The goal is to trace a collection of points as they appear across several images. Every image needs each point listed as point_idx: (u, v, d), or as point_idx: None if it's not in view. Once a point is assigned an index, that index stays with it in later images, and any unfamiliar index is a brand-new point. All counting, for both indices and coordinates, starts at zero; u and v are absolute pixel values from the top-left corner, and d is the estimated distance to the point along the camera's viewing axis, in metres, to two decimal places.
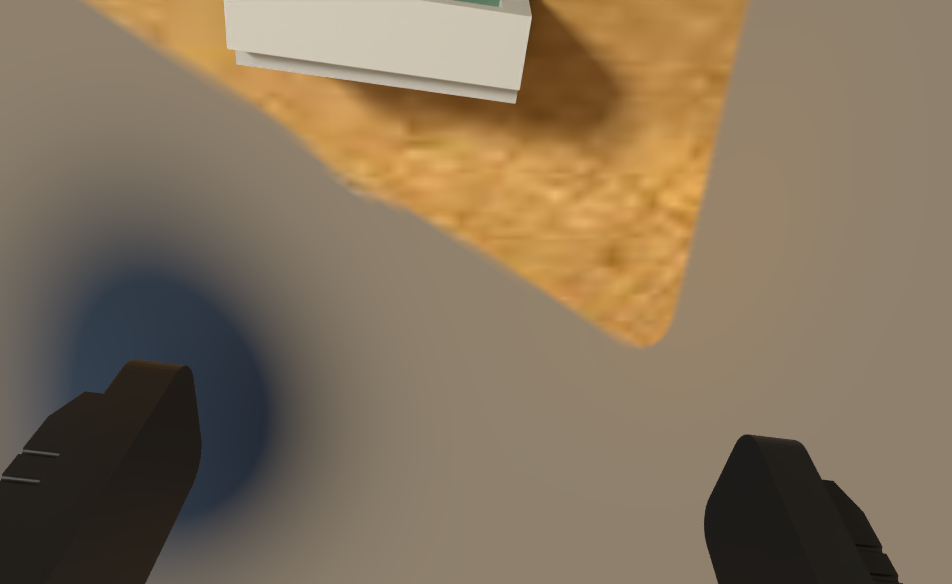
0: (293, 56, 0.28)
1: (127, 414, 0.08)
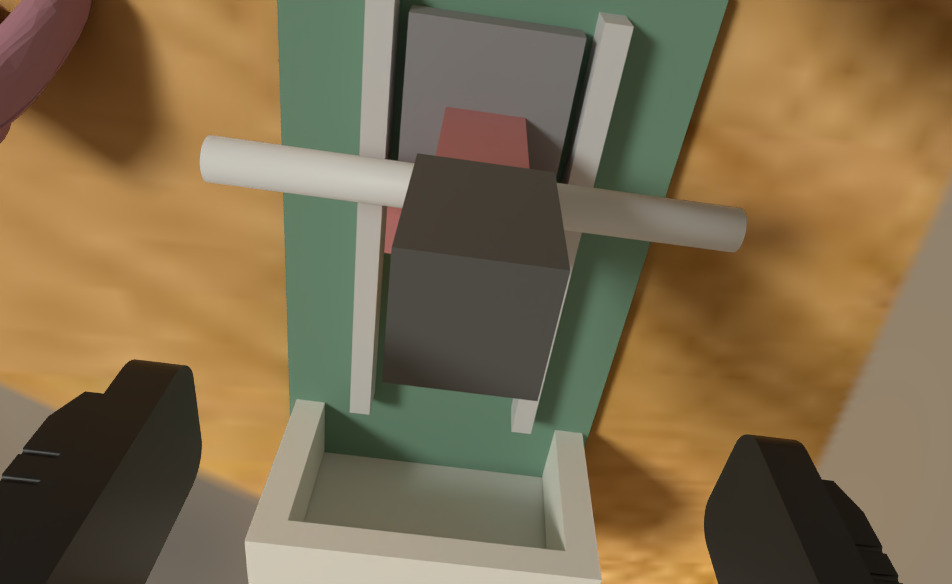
0: None
1: (127, 414, 0.08)
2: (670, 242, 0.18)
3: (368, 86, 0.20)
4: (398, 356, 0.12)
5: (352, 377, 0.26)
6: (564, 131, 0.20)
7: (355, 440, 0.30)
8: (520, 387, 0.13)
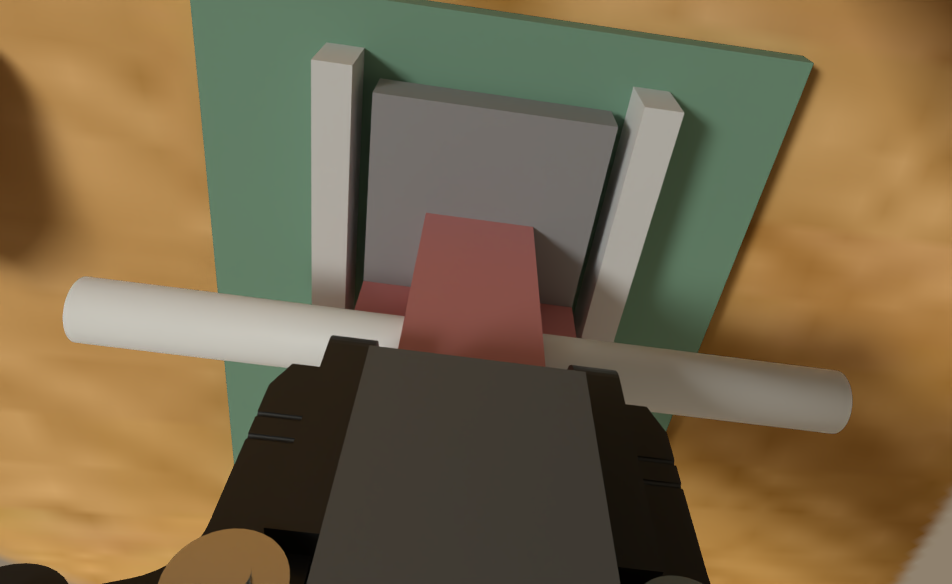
0: None
1: (347, 381, 0.09)
2: (741, 422, 0.12)
3: (320, 187, 0.14)
4: None
5: None
6: (585, 243, 0.15)
7: None
8: None
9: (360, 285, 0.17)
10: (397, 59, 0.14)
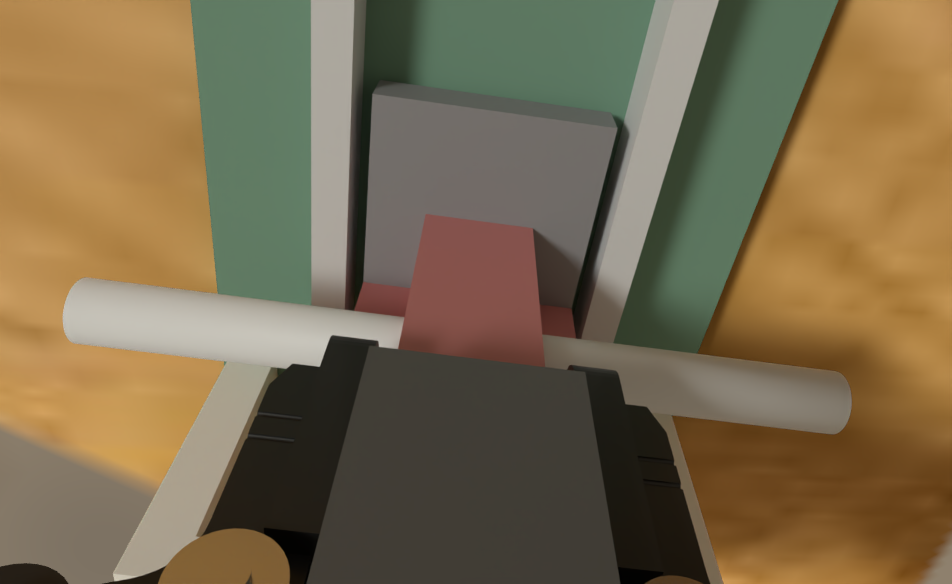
0: None
1: (347, 381, 0.09)
2: (741, 423, 0.13)
3: None
4: None
5: (313, 303, 0.16)
6: (585, 245, 0.15)
7: None
8: None
9: None
10: None
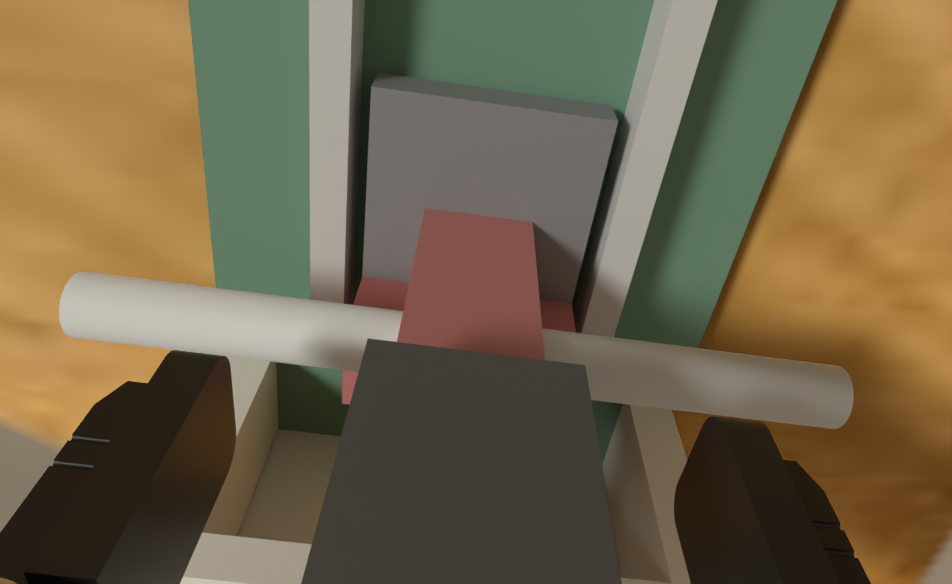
0: None
1: (172, 402, 0.08)
2: (742, 417, 0.12)
3: None
4: None
5: (312, 298, 0.16)
6: (585, 239, 0.15)
7: (324, 410, 0.20)
8: None
9: None
10: None
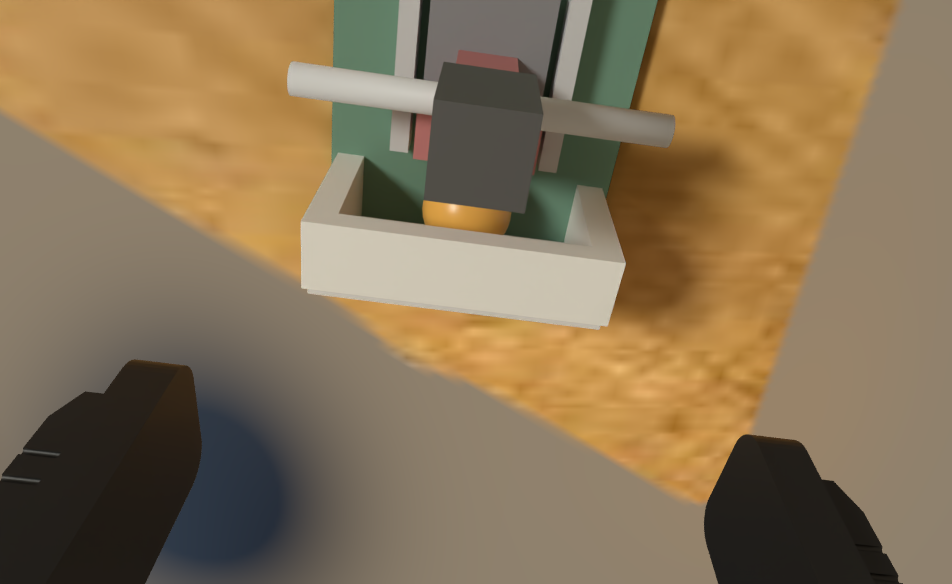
0: (371, 295, 0.27)
1: (127, 414, 0.08)
2: (621, 139, 0.25)
3: None
4: (435, 180, 0.19)
5: None
6: (546, 68, 0.27)
7: (391, 201, 0.32)
8: (513, 203, 0.20)
9: None
10: None
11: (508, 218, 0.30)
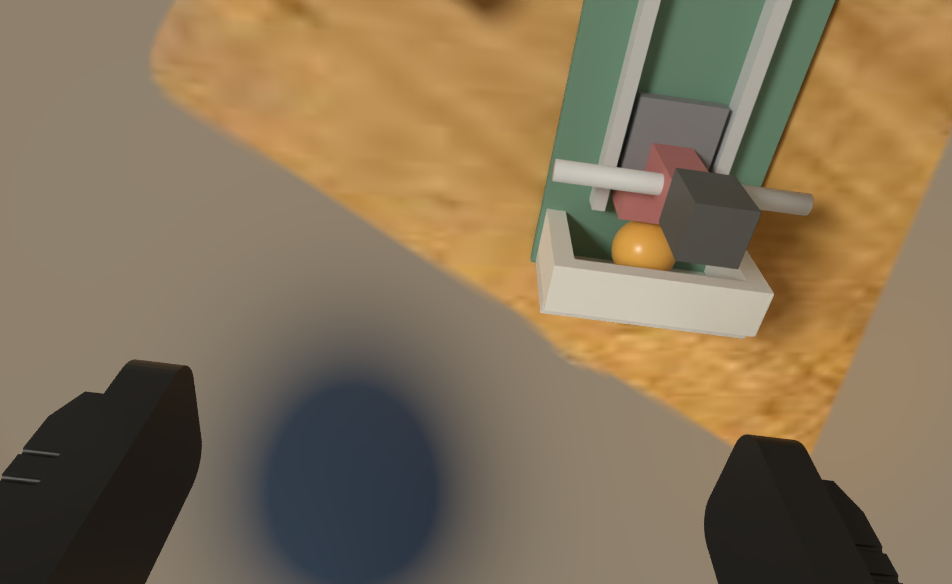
0: (592, 315, 0.38)
1: (127, 414, 0.08)
2: (775, 210, 0.36)
3: None
4: (685, 249, 0.31)
5: None
6: (712, 155, 0.39)
7: (579, 242, 0.44)
8: (732, 262, 0.31)
9: None
10: None
11: None
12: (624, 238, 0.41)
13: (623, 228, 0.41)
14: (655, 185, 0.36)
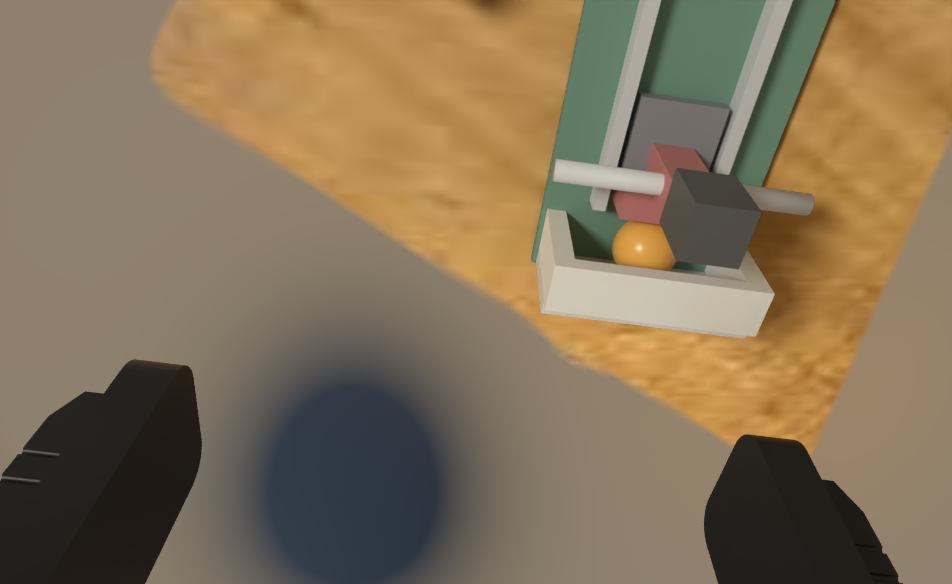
0: (592, 315, 0.38)
1: (127, 414, 0.08)
2: (776, 210, 0.36)
3: None
4: (686, 249, 0.31)
5: None
6: (713, 155, 0.39)
7: (580, 242, 0.44)
8: (733, 262, 0.31)
9: None
10: None
11: None
12: (625, 236, 0.41)
13: (624, 226, 0.41)
14: (656, 185, 0.36)
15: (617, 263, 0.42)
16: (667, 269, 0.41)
